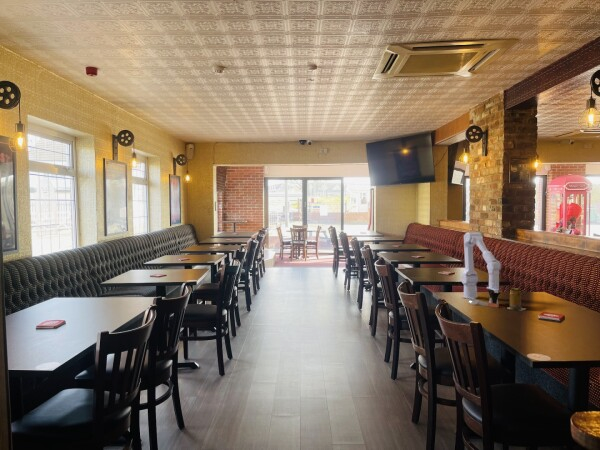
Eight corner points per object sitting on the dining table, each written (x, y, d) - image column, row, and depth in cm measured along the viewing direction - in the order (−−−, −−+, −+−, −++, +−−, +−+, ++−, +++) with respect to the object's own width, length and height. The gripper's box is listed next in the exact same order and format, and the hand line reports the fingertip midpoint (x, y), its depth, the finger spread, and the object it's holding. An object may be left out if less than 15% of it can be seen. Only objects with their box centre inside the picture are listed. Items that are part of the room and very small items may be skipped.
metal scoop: (466, 304, 271) (466, 297, 271) (470, 302, 277) (470, 295, 277) (496, 308, 260) (496, 301, 259) (500, 306, 265) (500, 299, 265)
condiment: (512, 306, 264) (512, 287, 263) (526, 309, 257) (526, 289, 257) (506, 308, 259) (506, 288, 259) (521, 311, 252) (521, 290, 252)
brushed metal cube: (496, 303, 271) (496, 297, 271) (497, 305, 267) (498, 298, 267) (489, 303, 272) (489, 297, 272) (491, 305, 268) (491, 298, 268)
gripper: (484, 278, 277) (484, 299, 277) (489, 282, 263) (489, 304, 263) (496, 278, 275) (496, 299, 276) (502, 282, 261) (501, 304, 262)
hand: (493, 302), depth 270 cm, fingers closed on brushed metal cube, 4 cm apart
